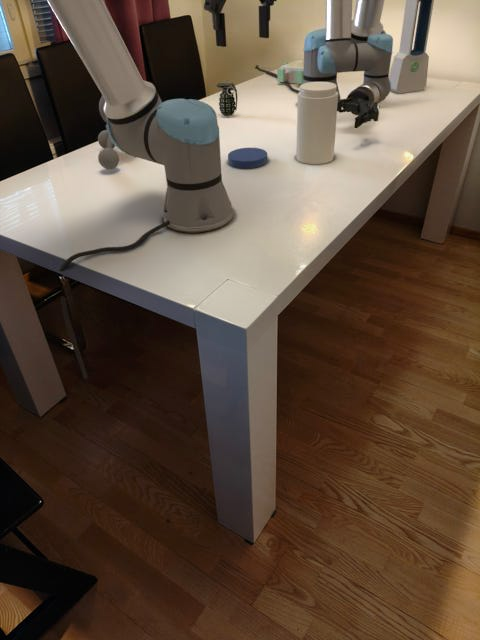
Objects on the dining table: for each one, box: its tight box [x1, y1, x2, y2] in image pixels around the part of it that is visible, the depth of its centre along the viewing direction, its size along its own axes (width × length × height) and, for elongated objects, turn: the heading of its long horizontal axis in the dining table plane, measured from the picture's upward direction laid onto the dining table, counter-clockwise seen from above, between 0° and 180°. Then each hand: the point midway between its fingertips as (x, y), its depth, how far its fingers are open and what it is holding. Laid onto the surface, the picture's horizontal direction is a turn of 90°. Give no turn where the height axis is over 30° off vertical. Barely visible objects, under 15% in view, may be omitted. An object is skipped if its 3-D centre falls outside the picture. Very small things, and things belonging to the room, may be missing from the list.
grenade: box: [215, 82, 238, 117], centre depth 166 cm, size 7×6×10 cm
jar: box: [295, 82, 338, 165], centre depth 128 cm, size 10×10×18 cm
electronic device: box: [389, 0, 435, 94], centre depth 176 cm, size 12×8×30 cm, turn 105°
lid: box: [227, 147, 268, 170], centre depth 133 cm, size 11×11×2 cm
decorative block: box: [276, 58, 304, 85], centre depth 205 cm, size 26×6×20 cm
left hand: (243, 41), depth 116 cm, fingers open, 13 cm apart
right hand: (332, 119), depth 135 cm, fingers open, 13 cm apart
